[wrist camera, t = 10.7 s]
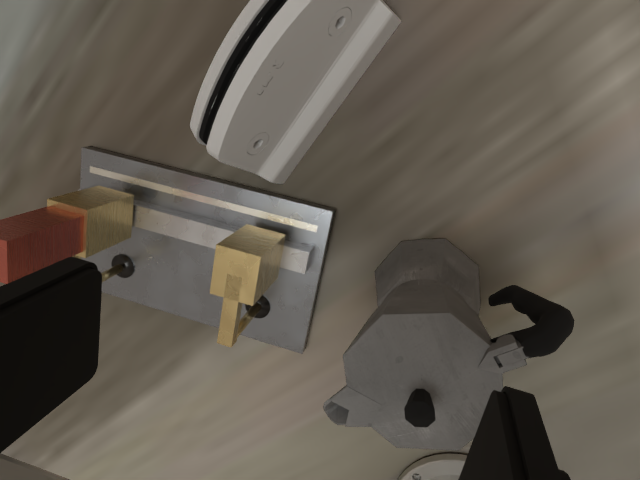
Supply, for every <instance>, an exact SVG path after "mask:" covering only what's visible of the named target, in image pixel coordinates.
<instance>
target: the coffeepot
mask: <svg viewBox="0 0 640 480" xmlns="http://www.w3.org/2000/svg"><path fill="white" fill-rule="evenodd" d="M375 279H376V290H377V302H378V308H377V309H376V310H375V312H374V313H373V314H372V315H371V316H370V318H369V319H368V321H367V322H366V324H365V325H364V326H363V328H362V329H361V331H360V332H359V333H358V335H357V336H356V338H355V339H354V341H353V342H352V343H351V345H350V346H349V348H348V349H347V350H346V352H345V353H344V354H343V360H344V367H345V375H346V382H347V385H346V386H345V387H344V388H342V389H341V390H340V391H339V392H337V393H336V394H335V395H334V396H332V397H331V398H330V399H329V400H327V401H326V402H325V403H324V406H323V408H324V411H325V412H326V414H327V416H328V417H329V418H330V419H331V420H332V421H333V422H334V423H335V424H337V425H345V426H350V427H372V428H373V429H374V430H376V431H377V432H378V433H379V434H381V435H382V436H383V437H384V438H385V439H387V440H388V441H389V442H390V443H392V444H393V445H394V446H395V447H397V448H418V449H439V450H460V449H461V448H462V447H464V446H465V445H466V444H467V443H469V442H470V441H471V440H472V439H473V438H474V437H475V434H476V432H477V429H478V426H479V424H480V421H481V418H482V416H483V413H484V410H485V408H486V405H487V402H488V400H489V397H490V395H491V393H492V391H493V390H496V391H500V392H501V390H502V389H503V378H502V373H505V372H507V371H510V370H513V369H516V368H519V367H522V366H525V365H527V363H526V360H525V359H527V358H531V357H537V356H545V355H548V354H551V353H553V352H555V351H556V350H557V349H558V348H559V346H560V345H561V344H562V343H563V342H564V341H565V339H566V338H567V337H568V336H569V335H570V334H571V333H572V330H573V327H574V319H573V317H572V314H571V312H570V311H569V310H568V309H566V308H564V307H563V306H561V305H559V304H556V303H554V302H551V301H549V300H547V299H544V298H542V297H540V296H538V295H536V294H534V293H532V292H529V291H527V290H525V289H523V288H521V287H519V286H516V285H511V286H508V287H505V288H503V289H501V290H500V291H498V292H496V293H495V294H493V295H491V296H490V297H489V305H490V306H496V305H501V304H506V303H512V304H513V306H514V308H515V310H517V311H519V312H521V313H523V314H526V315H527V316H528V317H529V318H530V320H531V321H532V322H534V323H535V325H534V326H532V327H529V328H526V329H523V330H519V331H515V332H511V333H508V334H505V335H502V336H499V337H496V338H494V339H491V338H490V336H489V334H488V332H487V331H486V329H485V327H484V326H483V324H482V322H481V320H480V319H479V317H478V314H479V310H480V287H479V266H478V265H477V264H476V263H474V262H473V261H472V260H471V259H470V258H468V257H467V256H466V255H465V254H464V253H463V252H462V251H461V250H459V249H458V248H456V247H455V246H454V245H452V244H451V243H450V242H449V241H447V240H446V239H419V240H413V241H401V242H400V243H399V244H398V246H397V247H396V248H395V249H394V250H393V251H392V252H391V253H390V254H389V255H388V256H387V258H386V259H385V260H384V261H383V262H382V263H381V264H380V265H379V267H378V268H377V269H376V270H375Z"/></svg>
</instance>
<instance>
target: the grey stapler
mask: <svg viewBox="0 0 640 480" xmlns="http://www.w3.org/2000/svg"><path fill="white" fill-rule="evenodd" d="M401 22H402V21H401V20H400V19H399V18H398V16H397V15H396V14H395V13H394V12H393V11H392V10H391V9H390V8H389V7H388V5H387V4H386V3H385V2H384V0H250V1H249V3H248V4H247V5H246V7H245V8H244V9H243V11H242V12H241V14H240V15H239V17H238V18H237V20H236V21H235V23H234V24H233V26H232V27H231V29H230V30H229V32H228V34H227V35H226V37H225V39H224V40H223V42H222V44H221V46H220V48H219V50H218V51H217V53H216V55H215V57H214V59H213V61H212V63H211V65H210V67H209V70H208V72H207V74H206V76H205V79H204V81H203V83H202V86H201V89H200V91H199V94H198V97H197V100H196V103H195V107H194V110H193V114H192V118H191V122H190V128H191V130H192V132H193V134H194V136H195V138H196V139H197V141H198V142H199V143H200V144H203V145H206V147H207V152H208V153H209V154H210V155H211V156H213V157H214V158H216V159H217V160H218V161H220V162H222V163H225V164H228V165H231V166H234V167H236V168H239V169H242V170H245V171H248V172H251V173H254V174H257V175H259V176H261V177H263V178H264V179H266V180H268V181H270V182H272V183H277V184H284V182H285V181H286V179H287V178H288V177H289V175H290V174H291V173H292V171H293V170H294V169H295V167H296V166H297V164H298V163H299V162H300V160H301V159H302V158H303V156H304V155H305V153H306V152H307V151H308V149H309V148H310V147H311V145H312V144H313V142H314V141H315V140H316V138H317V137H318V136H319V134H320V133H321V132H322V130H323V129H324V127H325V126H326V125H327V123H328V122H329V121H330V119H331V118H332V116H333V115H334V114H335V112H336V111H337V110H338V108H339V107H340V105H341V104H342V103H343V101H344V100H345V99H346V97H347V96H348V94H349V93H350V92H351V90H352V89H353V88H354V86H355V85H356V84H357V82H358V81H359V79H360V78H361V77H362V75H363V74H364V73H365V71H366V70H367V68H368V67H369V66H370V64H371V63H372V62H373V60H374V59H375V57H376V56H377V55H378V53H379V52H380V51H381V49H382V48H383V46H384V45H385V44H386V42H387V41H388V40H389V38H390V37H391V36H392V34H393V33H394V31H395V30H396V29H397V27H398V26H399V25H400V23H401Z"/></svg>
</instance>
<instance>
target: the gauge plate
mask: <svg viewBox="0 0 640 480" xmlns="http://www.w3.org/2000/svg"><path fill="white" fill-rule="evenodd" d="M95 186H103V187H106V188H110V189H114V190H117V191H121V192H125V193H129V194H132V195H134V204H133V218H132V232H131V238H129V239H127V240H124V241H122V242H120V243H118V244H116V245H113V246H111V247H109V248H107V249H105V250H103V251H100V252H98V253H96V254H94V255H92V256H89V257H87V258H83V257H81V259H82V260H85V261H89V262H92V263H95V264H96V265H97V268H98V271H100V272H101V273H102V272H104V271H106V270H108V269H110V268H112V267H113V266H115V265H117V264H121V265H122V266H123V271H122V272H120V273H118V274H117V275H115V276H113V277H111V278H109V279H108V280H106V281H104V282H102V292H104V293H107V294H110V295H113V296H117V297H120V298H123V299H126V300H130V301H133V302H136V303H139V304H143V305H146V306H149V307H152V308H156V309H159V310H162V311H165V312H168V313H172V314H175V315H178V316H181V317H185V318H188V319H191V320H194V321H198V322H201V323H204V324H207V325H211V326H214V327H217V328H219V333H218V340H217V343H219V344H222V345H225V346H228V347H232V346H233V345H234V344H235V342H236V340H237V337H238V336H239V335H243V336H246V337H249V338H253V339H256V340H259V341H262V342H266V343H269V344H272V345H275V346H278V347H282V348H285V349H288V350H291V351H295V352H298V353H301V354H303V352H304V350H305V348H306V344H307V339H308V335H309V330H310V325H311V321H312V316H313V311H314V307H315V302H316V297H317V293H318V288H319V284H320V279H321V274H322V270H323V265H324V260H325V256H326V251H327V247H328V242H329V237H330V233H331V228H332V223H333V219H334V214H335V210H336V209H335V208H331V207H327V206H323V205H319V204H315V203H311V202H307V201H304V200H300V199H296V198H292V197H288V196H284V195H280V194H276V193H272V192H268V191H264V190H260V189H257V188H253V187H249V186H245V185H241V184H237V183H233V182H229V181H225V180H221V179H217V178H213V177H210V176H206V175H202V174H198V173H194V172H190V171H186V170H182V169H178V168H174V167H170V166H166V165H163V164H159V163H155V162H151V161H147V160H143V159H139V158H135V157H131V156H127V155H123V154H119V153H116V152H112V151H108V150H104V149H100V148H96V147H92V146H88V147H82V153H81V184H80V189H79V191H80V190H84V189H87V188H91V187H95Z"/></svg>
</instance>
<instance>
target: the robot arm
mask: <svg viewBox="0 0 640 480" xmlns="http://www.w3.org/2000/svg"><path fill="white" fill-rule="evenodd" d="M101 292H102V274H101V272H100V271H98V268H97V265H96V264H95V263H92V262H89V261H85V260H82V259H79V258H75V257H68V258H65V259H63V260H61V261H59V262H56V263H54V264H52V265H49V266H47V267H45V268H42V269H40V270H38V271H36V272H33V273H31V274H29V275H26V276H24V277H22V278H19V279H17V280H15V281H12V282H10V283H8V284H6V285H3V286H1V287H0V480H69V479H67V478H64V477H62V476H59V475H56V474H54V473H51V472H48V471H46V470H43V469H41V468H38V467H35V466H33V465H30V464H27V463H25V462H22V461H19V460H17V459H14V458H11V457H9V456H6V455H3V454H1V452H2V451H3V450H4V449H6V448H7V447H8V446H9V445H11V444H12V443H13V442H14V441H16V440H17V439H18V438H19V437H20V436H22V435H23V434H24V433H25V432H27V431H28V430H29V429H30V428H31V427H33V426H34V425H35V424H36V423H38V422H39V421H40V420H41V419H43V418H44V417H45V416H46V415H47V414H49V413H50V412H51V411H52V410H54V409H55V408H56V407H57V406H59V405H60V404H61V403H62V402H63V401H65V400H66V399H67V398H68V397H70V396H71V395H72V394H73V393H74V392H76V391H77V390H78V389H79V388H81V387H82V386H83V385H84V384H86V383H87V382H88V381H89V380H90V379H91V378H92V377H93V376H94V374H95V372H96V370H97V366H98V351H99V331H100V311H101ZM398 480H571V479H570V477H569V475H568V474H567V473H566V472H564V471H562V470H559V469H558V467H557V464H556V461H555V458H554V455H553V451H552V448H551V445H550V442H549V439H548V436H547V433H546V430H545V427H544V424H543V421H542V418H541V415H540V411H539V408H538V405H537V402H536V399H535V397H534V395H533V394H530V393H527V392H523V391H520V390H517V389H513V388H510V387H507V386H505V387H504V388H503V389H502V390H501V392H500V391H496V390H493V391H492V393H491V395H490V397H489V400H488V402H487V405H486V408H485V410H484V413H483V416H482V418H481V421H480V424H479V426H478V429H477V432H476V434H475V437H474V440H473V442H472V445H471V447H470V450H469V453H468V455H462V454H439V455H433V456H430V457H426V458H423V459H421V460H419V461H417V462H415V463H413V464H412V465H411V466H409V467H408V468H407V469H406V470H405V471H404V472H403V473H402V474H401V475H400V477H399V478H398Z"/></svg>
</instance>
